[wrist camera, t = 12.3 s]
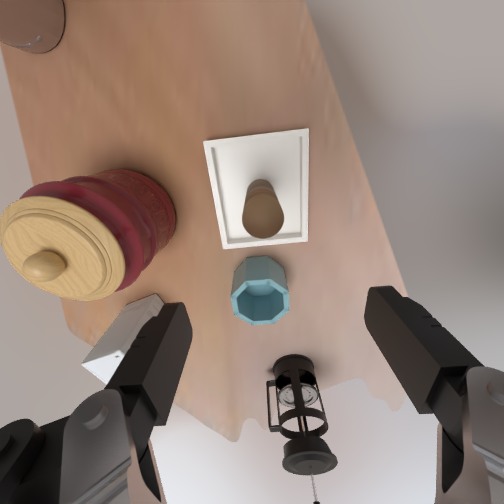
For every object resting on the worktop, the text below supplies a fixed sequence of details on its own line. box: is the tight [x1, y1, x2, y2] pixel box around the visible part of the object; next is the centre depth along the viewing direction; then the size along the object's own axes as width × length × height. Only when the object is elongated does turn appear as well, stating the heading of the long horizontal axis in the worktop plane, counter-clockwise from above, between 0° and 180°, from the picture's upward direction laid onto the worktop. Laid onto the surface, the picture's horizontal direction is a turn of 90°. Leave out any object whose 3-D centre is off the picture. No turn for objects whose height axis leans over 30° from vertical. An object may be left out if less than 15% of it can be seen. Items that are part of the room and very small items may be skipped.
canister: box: [0, 169, 176, 301], centre depth 25 cm, size 13×13×18 cm
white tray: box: [203, 128, 309, 249], centre depth 31 cm, size 15×13×2 cm
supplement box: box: [81, 294, 164, 385], centre depth 37 cm, size 7×7×13 cm
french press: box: [266, 354, 338, 504], centre depth 40 cm, size 12×9×23 cm
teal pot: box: [231, 256, 289, 325], centre depth 35 cm, size 9×9×7 cm
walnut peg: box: [242, 179, 284, 239], centre depth 26 cm, size 4×4×12 cm
